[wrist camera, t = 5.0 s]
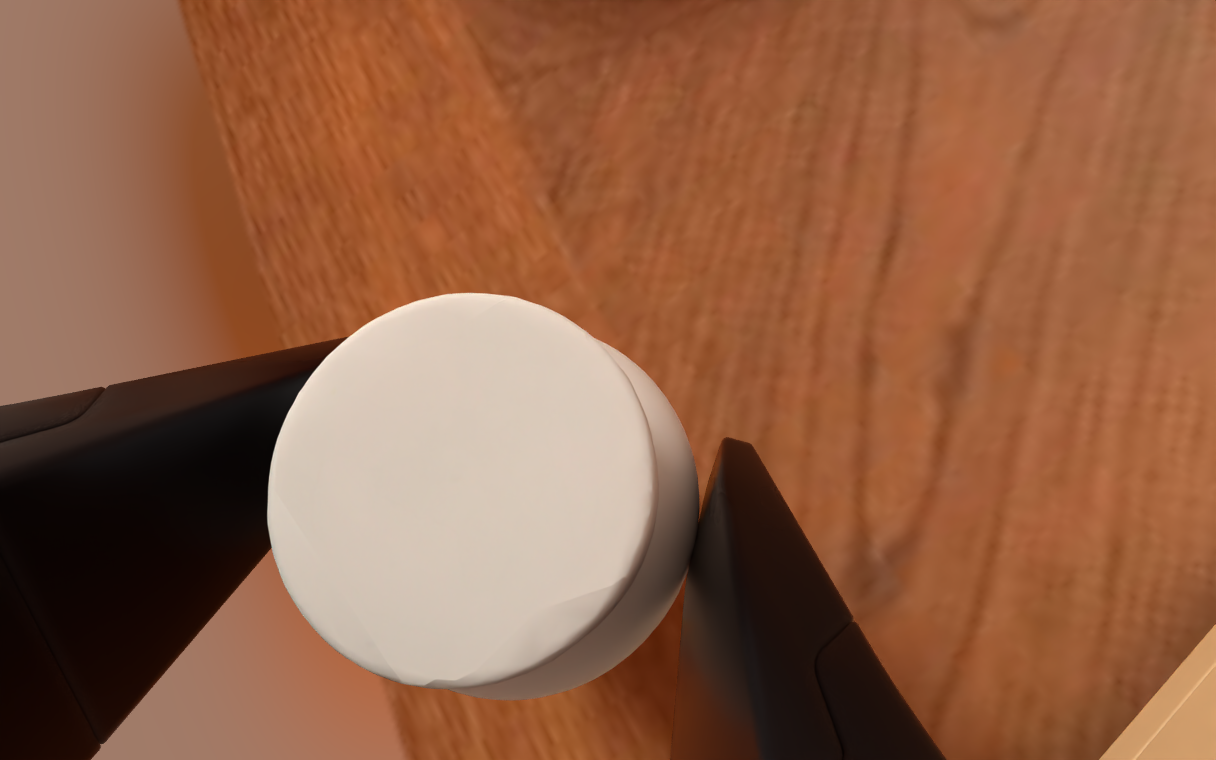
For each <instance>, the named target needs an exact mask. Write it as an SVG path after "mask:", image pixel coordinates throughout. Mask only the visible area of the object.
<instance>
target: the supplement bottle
mask: <svg viewBox="0 0 1216 760" xmlns="http://www.w3.org/2000/svg"><path fill="white" fill-rule="evenodd" d="M267 520H268V529H269V535H270V541H271V546H272V551H273V555H274V558H275V561H276V564H277V567H278V570H279V573H280V575H281V578H282V580H283V582H284V585H285V587H286V589H287V591H288V592H289V594H290V596H291V598H292V599H293V601H294V603H295V604H296V606H297V607H298V609H299V610H300V612H301V613H302V615H303V616H304V617H305V618H306V619H307V621H308V622H309V623H310V625H311V626H312V627H313V628H314V629H315V630H316V632H318V634H319V635H320V636H321V637H322V638H323V639H324V640H325V641H326V642H327V643H328V644H329V645H330V646H332V647H333V648H334V649H335V650H336V651H337V652H339V653H340V654H342V655H343V656H344V657H346V658H347V659H349V660H351V661H353V662H354V663H356V664H357V665H359V666H360V667H362V668H364V669H366V670H368V671H370V672H372V673H374V674H376V675H379V676H381V677H384V678H387V679H389V680H392V681H395V682H398V683H402V684H407V685H413V686H418V687H423V688H432V689H448V690H451V691H454V692H457V693H461V694H465V695H469V696H473V697H477V698H485V699H494V700H526V699H533V698H540V697H545V696H549V695H553V694H557V693H561V692H564V691H568V690H571V689H573V688H576V687H579V686H581V685H583V684H585V683H588V682H590V681H592V680H594V679H596V678H598V677H599V676H601V675H603V674H604V673H606V672H608V671H609V670H611V669H613V668H614V667H615V666H616V665H618V664H619V663H620V662H622V661H623V660H624V659H625V658H627V657H628V656H629V655H631V654H632V653H633V652H634V651H635V650H636V649H637V648H638V647H639V646H640V645H641V644H642V643H643V642H644V641H645V640H646V639H647V638H648V636H649V635H650V634H651V633H652V632H653V631H654V629H655V628H656V627H657V626H658V625H659V623H660V622H661V621H662V620H663V618H664V617H665V615H666V614H667V612H668V611H669V609H670V607H671V606H672V604H673V602H674V601H675V599H676V597H677V595H678V593H679V591H680V589H681V586H682V584H683V582H684V579H685V577H686V575H687V572H688V569H689V564H690V560H691V556H692V552H693V548H694V544H695V540H696V535H697V530H698V521H699V488H698V477H697V471H696V466H695V461H694V457H693V454H692V450H691V447H690V444H689V441H688V438H687V435H686V433H685V430H684V428H683V426H682V424H681V422H680V420H679V418H678V416H677V414H676V412H675V411H674V409H673V407H672V406H671V404H670V403H669V401H668V399H667V398H666V396H665V395H664V394H663V393H662V391H661V390H660V389H659V388H658V386H657V385H656V384H655V383H654V381H653V380H652V379H651V378H650V377H649V376H648V375H647V374H646V373H645V372H644V371H643V370H642V369H641V368H640V367H639V366H637V365H636V364H635V363H634V362H633V361H631V360H630V359H629V358H628V357H626V356H625V355H624V354H622V353H621V352H619V351H618V350H616V349H614V348H612V347H611V346H609V345H607V344H605V343H603V342H601V341H599V340H597V339H595V338H593V337H592V336H591V335H590V334H588V333H587V332H586V331H585V330H583V329H582V328H580V327H579V326H578V325H576V324H575V323H573V322H572V321H570V320H569V319H567V318H565V317H564V316H562V315H560V314H558V313H556V312H554V311H552V310H550V309H548V308H546V307H543V306H540V305H537V304H534V303H531V302H528V301H525V300H522V299H519V298H516V297H510V296H502V295H494V294H479V293H458V294H447V295H441V296H436V297H432V298H428V299H423V300H419V301H416V302H413V303H410V304H408V305H405V306H402V307H400V308H397V309H395V310H393V311H391V312H389V313H387V314H384V315H382V316H380V317H378V318H376V319H375V320H373V321H371V322H369V323H368V324H366V325H365V326H363V327H362V328H360V329H359V330H358V331H356V332H355V333H354V334H352V335H351V336H350V337H348V338H347V339H346V340H345V341H343V342H342V343H341V344H340V345H339V346H338V347H337V348H336V349H335V350H334V351H332V352H331V353H330V354H329V355H328V356H327V357H326V358H325V359H324V361H323V362H322V363H321V364H320V365H319V366H318V368H317V369H316V370H315V371H314V372H313V374H312V375H311V376H310V378H309V379H308V381H307V382H306V384H305V385H304V387H303V388H302V389H301V391H300V392H299V393H298V395H297V397H296V399H295V401H294V404H293V405H292V407H291V408H290V410H289V412H288V414H287V416H286V419H285V421H284V423H283V426H282V428H281V431H280V433H279V436H278V439H277V442H276V445H275V449H274V453H273V457H272V462H271V468H270V475H269V484H268V511H267Z"/></svg>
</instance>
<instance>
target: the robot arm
mask: <svg viewBox="0 0 1216 760" xmlns="http://www.w3.org/2000/svg"><path fill="white" fill-rule="evenodd" d="M347 338H348V337H345V338H340V339H335V340H330V341H325V342H320V343H315V344H310V345H305V346H300V347H295V348H291V349H286V350H281V351H276V352H271V353H266V354H261V355H256V356H251V357H246V358H241V359H237V360H232V361H227V362H222V363H217V364H212V365H207V366H202V367H197V368H192V369H188V370H183V371H177V372H172V373H167V374H163V375H158V376H153V377H148V378H143V379H138V380H134V381H129V382H123V383H118V384H114V385H109V386H108V387H107V388H106V389H105V388H103V387H99V388H93V389H88V390H83V391H79V392H73V393H68V394H63V395H58V396H53V397H47V398H43V399H37V400H32V401H27V402H21V403H16V404H10V405H5V406H0V760H91V759H92V758H93V757H94V755H95V754H96V753H97V752H98V751H99V749H100V748H101V746H100V744H104V743H105V742H106V741H107V740H108V738H109V737H110V736H111V735H112V734H113V733H114V731H115V730H116V729H117V728H118V727H119V726H120V724H121V723H122V722H123V721H124V720H125V719H126V717H127V716H128V715H129V714H130V713H131V711H132V710H133V709H134V708H135V707H136V706H137V705H138V703H139V702H140V701H141V700H142V699H143V697H144V696H145V695H146V694H147V693H148V692H149V690H150V689H151V688H152V687H153V685H155V683H156V682H157V681H158V680H159V679H160V678H161V676H162V675H163V674H164V673H165V672H166V671H167V669H168V668H169V667H170V666H171V665H172V664H173V662H174V661H175V660H176V659H177V658H178V657H179V655H180V654H181V653H182V652H183V651H184V650H185V648H186V647H187V646H188V645H189V644H190V643H191V641H192V640H193V639H194V638H195V637H196V636H197V634H198V633H199V632H200V631H201V630H202V629H203V627H204V626H205V625H206V624H207V623H208V621H209V620H210V619H211V618H212V617H213V616H214V614H215V613H216V612H217V611H218V610H219V609H220V607H221V606H222V605H223V604H224V603H225V602H226V600H227V599H228V598H229V597H230V596H231V594H232V593H233V592H234V591H235V590H236V589H237V588H238V586H239V585H240V584H241V583H242V581H244V579H245V578H246V577H247V576H248V575H249V574H250V572H251V571H252V570H253V569H254V568H255V567H256V565H257V564H258V563H259V562H260V561H261V559H262V558H263V557H264V556H265V555H266V554H267V552H268V551H269V550H270V549H271V548H272V546H271V541H270V535H269V529H268V520H267V511H268V484H269V475H270V468H271V462H272V457H273V453H274V449H275V445H276V442H277V439H278V436H279V433H280V431H281V428H282V426H283V423H284V421H285V419H286V416H287V414H288V412H289V410H290V408H291V407H292V405H293V404H294V401H295V399H296V397H297V395H298V393H299V392H300V391H301V389H302V388H303V387H304V385H305V384H306V382H307V381H308V379H309V378H310V376H311V375H312V374H313V372H314V371H315V370H316V369H317V368H318V366H319V365H320V364H321V363H322V362H323V361H324V359H325V358H326V357H327V356H328V355H329V354H330V353H331V352H332V351H334V350H335V349H336V348H337V347H338V346H339V345H340V344H341V343H342V342H343V341H345V340H346V339H347ZM670 760H946V758H945V757H944V755H943V754H942V753H941V751H940V750H939V749H938V747H937V746H936V744H935V743H934V742H933V740H932V739H931V737H930V736H929V735H928V733H927V732H926V730H925V729H924V727H923V726H922V724H921V723H920V721H919V720H918V719H917V717H916V716H915V714H914V713H913V711H912V710H911V708H910V707H909V705H908V704H907V703H906V701H905V700H904V698H903V697H902V695H901V694H900V692H899V691H898V689H897V688H896V686H895V685H894V683H893V682H892V680H891V678H890V677H889V675H888V674H887V672H886V670H885V669H884V667H883V666H882V664H881V662H880V661H879V659H878V657H877V656H876V654H875V653H874V651H873V649H872V648H871V646H870V644H869V643H868V641H867V639H866V638H865V636H864V634H863V633H862V631H861V629H860V627H859V626H858V624H857V623H856V622H853V616H852V614H851V613H850V611H849V609H848V607H847V606H846V604H845V602H844V601H843V599H842V597H841V596H840V594H839V592H838V590H837V589H836V587H835V585H834V584H833V582H832V580H831V578H830V577H829V575H828V573H827V572H826V570H825V568H824V567H823V565H822V563H821V561H820V560H819V558H818V556H817V555H816V553H815V551H814V550H813V548H812V546H811V544H810V543H809V541H808V539H807V538H806V536H805V534H804V533H803V531H802V529H801V527H800V526H799V524H798V522H797V521H796V519H795V517H794V515H793V514H792V512H791V510H790V509H789V507H788V505H787V504H786V502H785V500H784V498H783V497H782V495H781V493H780V492H779V490H778V488H777V487H776V485H775V483H774V481H773V480H772V478H771V476H770V475H769V473H768V471H767V469H766V468H765V466H764V464H763V463H762V461H761V459H760V458H759V456H758V454H757V452H756V451H755V449H754V447H753V446H752V445H751V444H750V443H747V442H743V441H740V440H736V439H732V438H728V437H726V438H724V439H723V440H722V442H721V444H720V447H719V450H718V453H717V456H716V459H715V463H714V466H713V469H712V472H711V475H710V478H709V481H708V485H707V488H706V492H705V496H704V501H703V505H702V510H701V514H700V519H699V523H698V530H697V535H696V540H695V544H694V548H693V552H692V556H691V560H690V564H689V569H688V574H687V579H686V587H685V595H684V606H683V618H682V629H681V641H680V653H679V664H678V676H677V688H676V699H675V711H674V723H673V734H672V746H671V758H670Z"/></svg>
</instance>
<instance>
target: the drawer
mask: <svg viewBox="0 0 1216 760" xmlns="http://www.w3.org/2000/svg"><path fill="white" fill-rule="evenodd" d="M1099 760H1216V624H1215V625H1214V626H1213V627H1212V629H1211V630H1210V631H1209V632H1208V633H1207V634H1206V636H1205V637H1204V638H1203V639H1202V640H1201V641H1200V643H1199V644H1198V645H1197V646H1196V647H1195V648H1194V650H1193V651H1192V652H1191V653H1190V654H1189V655H1188V657H1187V658H1186V659H1185V660H1184V661H1183V662H1182V664H1181V665H1180V666H1179V667H1178V668H1177V669H1176V671H1175V672H1174V673H1173V674H1172V675H1171V676H1170V678H1169V679H1168V680H1167V681H1166V682H1165V683H1164V684H1163V686H1162V687H1161V688H1160V689H1159V690H1158V691H1157V693H1156V694H1155V695H1154V696H1153V697H1152V698H1151V700H1150V701H1149V702H1148V703H1147V704H1146V705H1145V707H1144V708H1143V709H1142V710H1141V711H1140V712H1139V714H1138V715H1137V716H1136V717H1135V718H1134V719H1133V721H1132V722H1131V723H1130V724H1129V725H1128V726H1127V728H1126V729H1125V730H1124V731H1123V732H1122V733H1121V735H1120V736H1119V737H1118V738H1117V739H1116V740H1115V742H1114V743H1113V744H1112V745H1111V746H1110V747H1109V748H1108V750H1107V751H1106V752H1105V753H1104V754H1103V755H1102V757H1101V758H1100V759H1099Z"/></svg>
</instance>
